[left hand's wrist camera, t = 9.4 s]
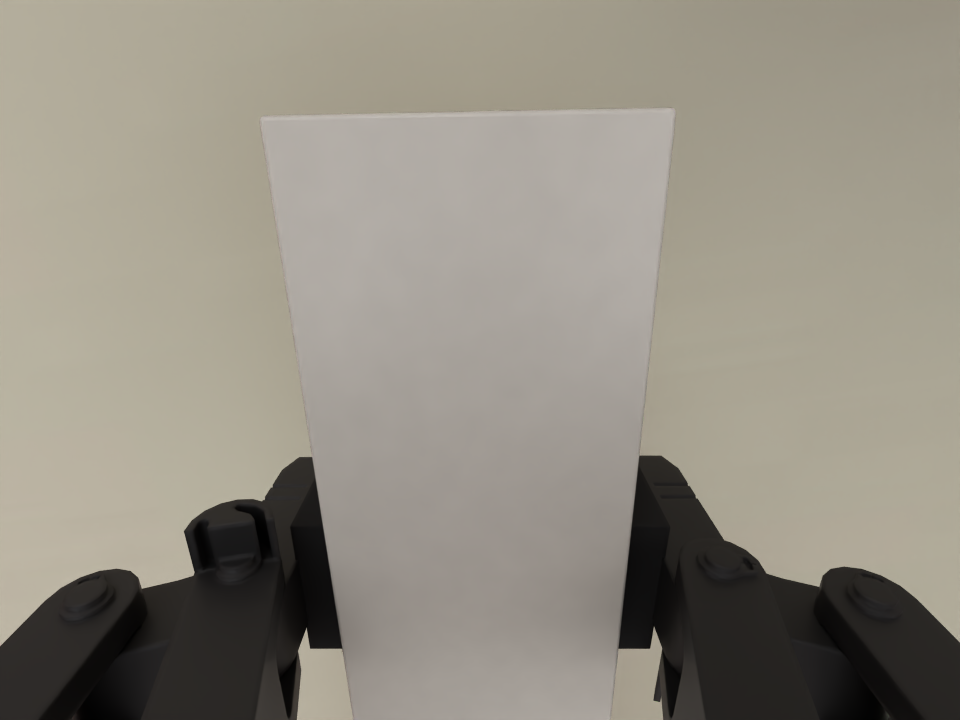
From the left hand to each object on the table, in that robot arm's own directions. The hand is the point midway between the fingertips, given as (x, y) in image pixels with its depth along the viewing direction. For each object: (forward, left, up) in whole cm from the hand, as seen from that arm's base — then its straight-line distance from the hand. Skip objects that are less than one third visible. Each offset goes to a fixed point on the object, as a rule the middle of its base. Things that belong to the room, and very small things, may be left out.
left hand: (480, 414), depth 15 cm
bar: (+28, +6, -1) cm, 28 cm away
